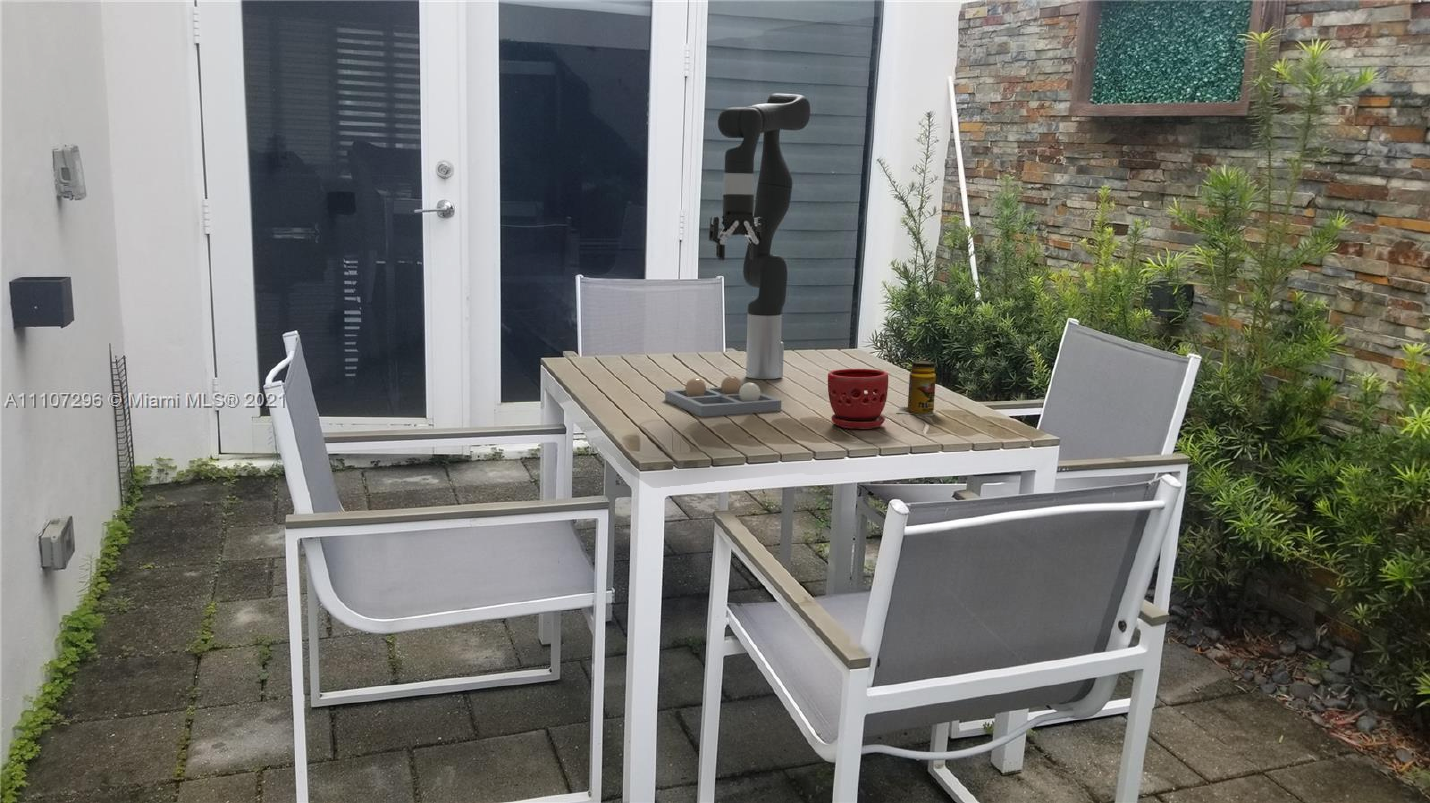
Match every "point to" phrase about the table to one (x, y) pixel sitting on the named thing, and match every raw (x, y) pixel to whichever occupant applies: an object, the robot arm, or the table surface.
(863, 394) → the plant pot
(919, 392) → the condiment
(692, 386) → the brown egg
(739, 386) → the brown egg
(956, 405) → the table surface
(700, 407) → the egg tray
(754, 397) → the pale egg
